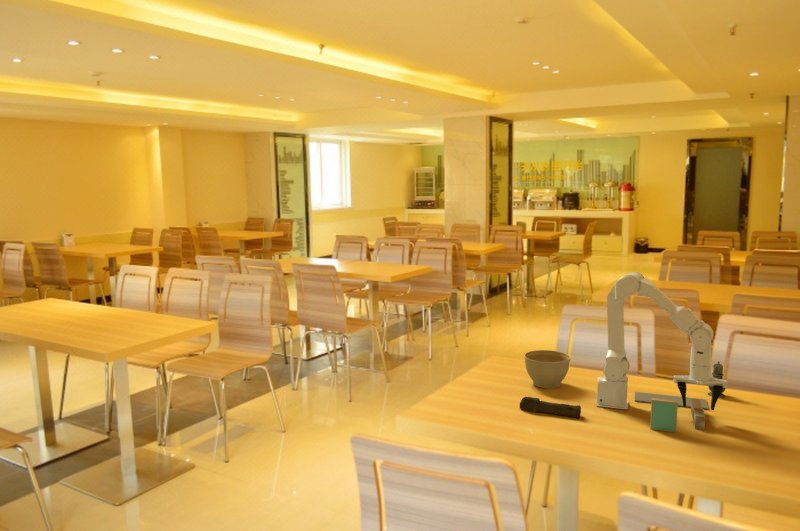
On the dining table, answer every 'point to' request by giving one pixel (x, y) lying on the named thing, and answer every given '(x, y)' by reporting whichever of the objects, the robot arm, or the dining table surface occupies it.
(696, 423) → the two-tone flat stick
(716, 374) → the salt shaker
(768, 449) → the dining table surface
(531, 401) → the hand tool
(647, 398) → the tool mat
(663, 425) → the tile
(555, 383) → the planter bowl
